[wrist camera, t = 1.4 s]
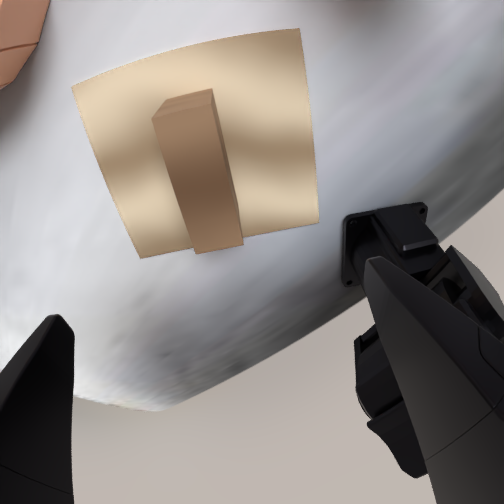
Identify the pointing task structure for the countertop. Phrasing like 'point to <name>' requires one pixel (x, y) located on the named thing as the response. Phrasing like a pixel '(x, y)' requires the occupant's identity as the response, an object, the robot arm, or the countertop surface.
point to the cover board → (246, 123)
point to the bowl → (19, 34)
